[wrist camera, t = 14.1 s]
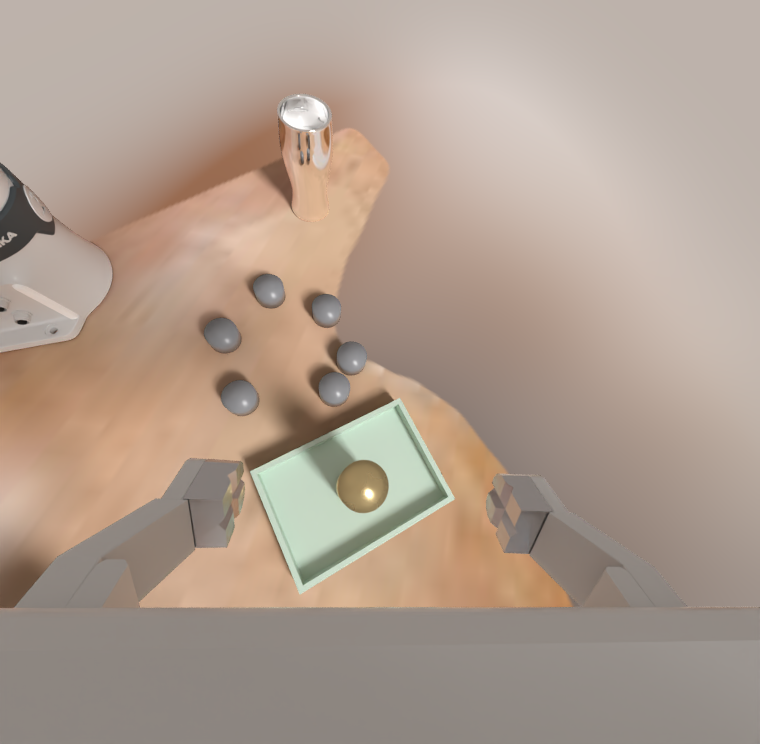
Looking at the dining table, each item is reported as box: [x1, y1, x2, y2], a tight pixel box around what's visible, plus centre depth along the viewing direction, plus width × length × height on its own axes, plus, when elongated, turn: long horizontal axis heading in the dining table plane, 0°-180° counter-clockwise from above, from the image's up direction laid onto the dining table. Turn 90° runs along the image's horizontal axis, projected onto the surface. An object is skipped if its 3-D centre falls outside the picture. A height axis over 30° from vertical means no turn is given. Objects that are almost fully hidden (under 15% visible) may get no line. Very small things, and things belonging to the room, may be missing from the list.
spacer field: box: [204, 274, 367, 416], centre depth 46 cm, size 19×21×2 cm
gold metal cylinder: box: [336, 460, 389, 513], centre depth 36 cm, size 4×4×13 cm
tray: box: [250, 398, 455, 594], centre depth 41 cm, size 20×14×3 cm
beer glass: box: [277, 94, 333, 222], centre depth 49 cm, size 7×7×15 cm
